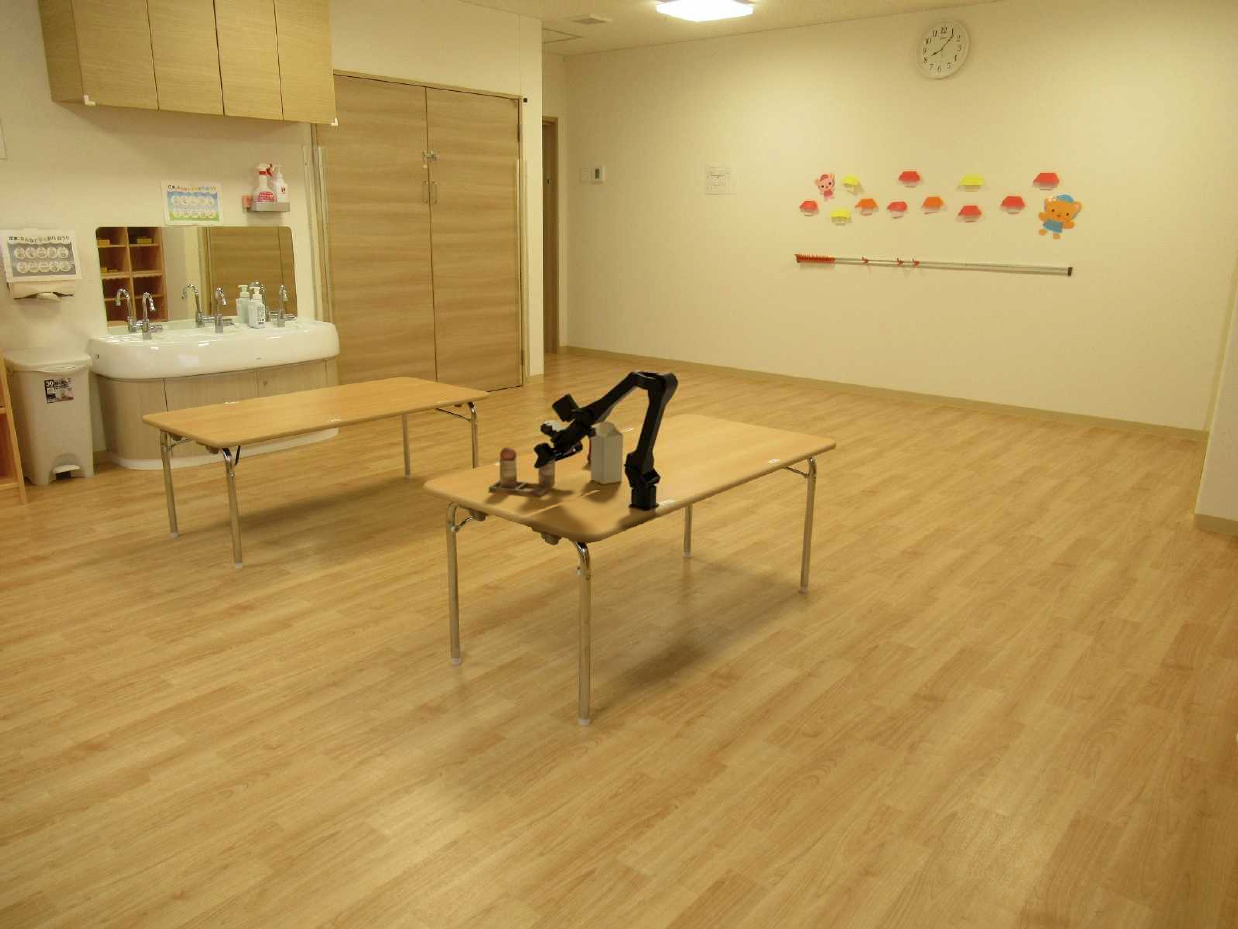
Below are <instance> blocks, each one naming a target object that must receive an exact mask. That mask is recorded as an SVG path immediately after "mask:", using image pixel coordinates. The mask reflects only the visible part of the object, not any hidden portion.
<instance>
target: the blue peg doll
mask: <svg viewBox="0 0 1238 929" xmlns="http://www.w3.org/2000/svg"><path fill="white" fill-rule="evenodd" d="M550 447H551V448H553V447H552V446H550ZM537 469H538V470H537V471H538V472H537V473H538V474H537V475H538V477H537V478H538V480H537V483H538V484H547V485H552V486H554V485H555V484H556V481H555V479H556V471H555V470H556V462H555V461H553V463H551V464H548V465H545V466H542V467H540V468H537Z"/></svg>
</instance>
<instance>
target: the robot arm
mask: <svg viewBox="0 0 1238 929" xmlns="http://www.w3.org/2000/svg"><path fill="white" fill-rule="evenodd" d="M678 386H679V380H678V379H677V376H676V375H675V374H674V373H673V372H671V371H665V372H662V373H661V372H653V371H652V372H651V371H644V370H640V369H638V370H634V371H631V372H629V373H628V374H627V375H626V376H625V378H624V377H623V379H622V380H620V382H619V383H617V384H616V385H615V386H614V387H613V388H612V389H611V390H609V391H607V393H606V394H604V396H602V397H601V398H599V399H596V400H595V401H593V402H591V403H589V404H587V405H585V406H581V407H580V406H579V405H578V403H576V401H575V399H574V398H573V396H572V395H571V394H570V393H567V394H565V395H564V396H562V397H561V398H559V399H558V400H555V401H554V402H553V403H552V405H551V408H552V410H553V411H554V412H555V413H556V415H557V416H558V417H559V419H560V421H561V422H562V423H567V424H568V423H570V424H568V426H566V427H564V426H563V425H562V424H560V423H558V421H556V420H555V419H549V420H545V421H544V422H543V423H542V424H541V425H540V432H541V433H542V434H544V436H548V437H549V438H550V439H549V441H550V442H551V443H552V444H553V447H552V446H550V444H549V443H548V442H540V443H537V444H536V445H535V446H534V448H533V451H534V452H535V454H536V456H537V458H536V460H535V463H534V465H533V467H534V468H535V469H536V470H537V469H538V468H540V467H542V466H545V465H548V464H551V463H553V461H555V463H557V462H559V461H561V460H565V459H567V458H569V457H570V458H571V457H573V456H575V455H577V454H580V453H581V452H583V450H584V445H583V443H582V441H583V439H584V438H585V437H587V439H588V438H591V437H594V436H596V427H593V426H595V425H599V424H600V423H601V422H603V421H607V418H608V417H609V416H610V414H611V413H612V411H613V409H614V408H615V407H616V406H618V404H619V403H621V401H623V400H624V399H625V398H627V397H628V396H629V395H630V394H631V393H632V392H633V391H635V390H636V389H637V388H638V389H641V390H645V391H647V398H648V406H647V409H646V412H645V413H646V414H645V416H644V420H643V423H642V427H641V431H640V434H639V437H638V442H637V445H636V447H635V449H634V450H633V451H630V452H627V454H626V455H625V456H626V458H625V462H624V464H622V467H623V468H624V474H625V476H626V478H627V481H628V484H629V487H630V488H631V490H630V503H629V504H628V507H631V508H634V507H635V508H636V509H639V510H643V511H650V510H652V509H653V508H654V509H655V508H656V507H659V506H660V503H657V488H658V486H657V485H658V484H660V481H661V478H662V476H661V475H660V474H659V473H658V472H657V471H656V469H655V468H654V464H655V457H654V448H655V445H656V441H657V437H658V435H659V430H660V427H661V424H662V420H663V417H664V413H665V410H666V407H667V405H668V404H669V402H670V401H671V400H672V398H673V396H674V395H675V392H676V390H677V388H678ZM551 447H552V448H551Z"/></svg>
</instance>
